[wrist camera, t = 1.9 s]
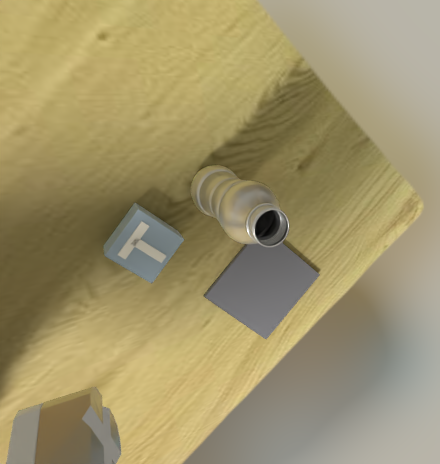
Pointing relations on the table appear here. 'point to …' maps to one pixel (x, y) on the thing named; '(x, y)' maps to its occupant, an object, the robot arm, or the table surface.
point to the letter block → (142, 243)
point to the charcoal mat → (262, 286)
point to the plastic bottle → (240, 206)
